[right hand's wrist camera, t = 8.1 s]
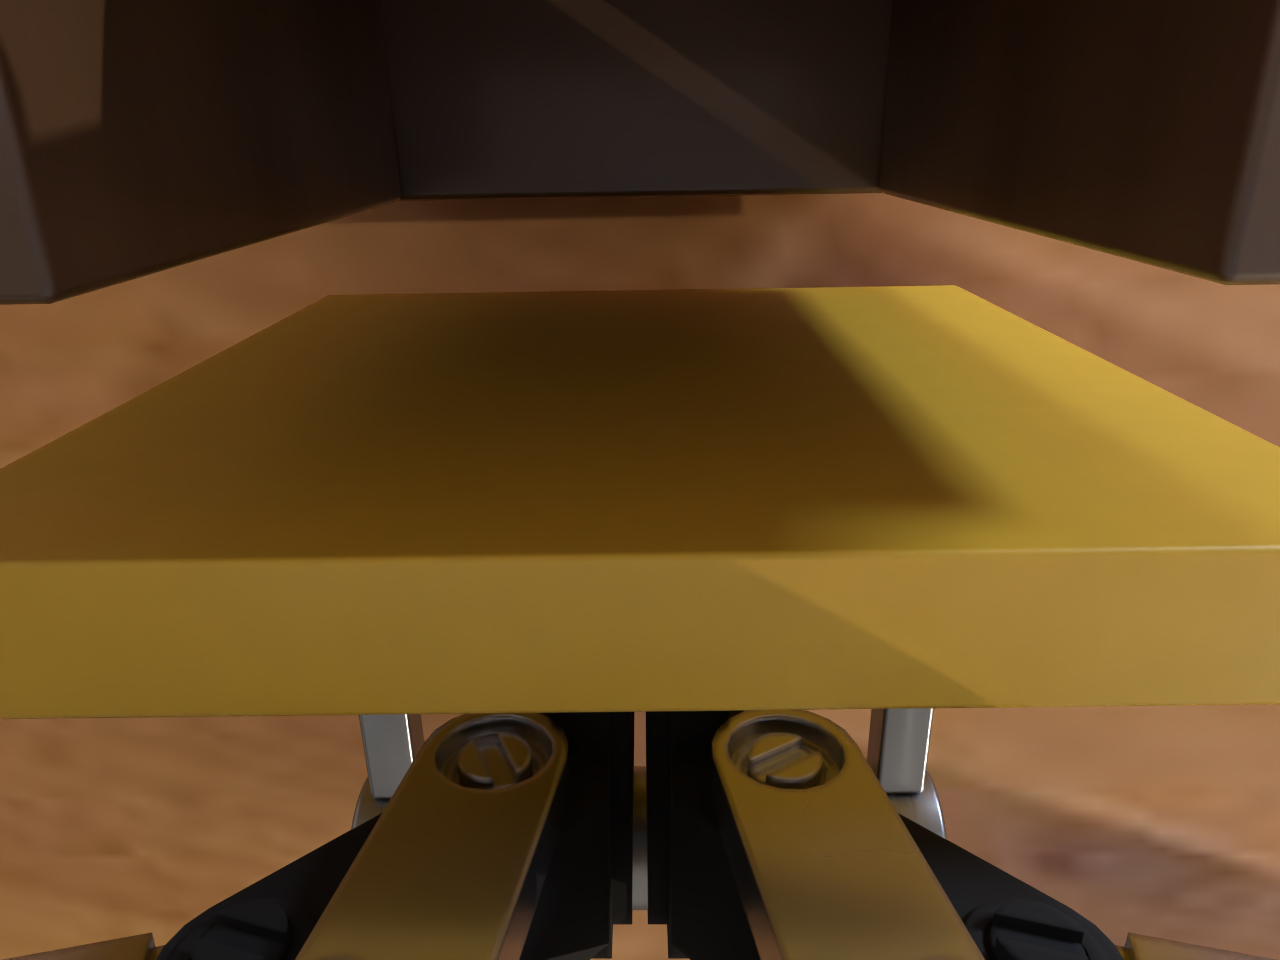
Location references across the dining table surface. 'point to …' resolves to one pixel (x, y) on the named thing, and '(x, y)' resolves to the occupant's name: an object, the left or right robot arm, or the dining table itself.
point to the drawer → (638, 373)
